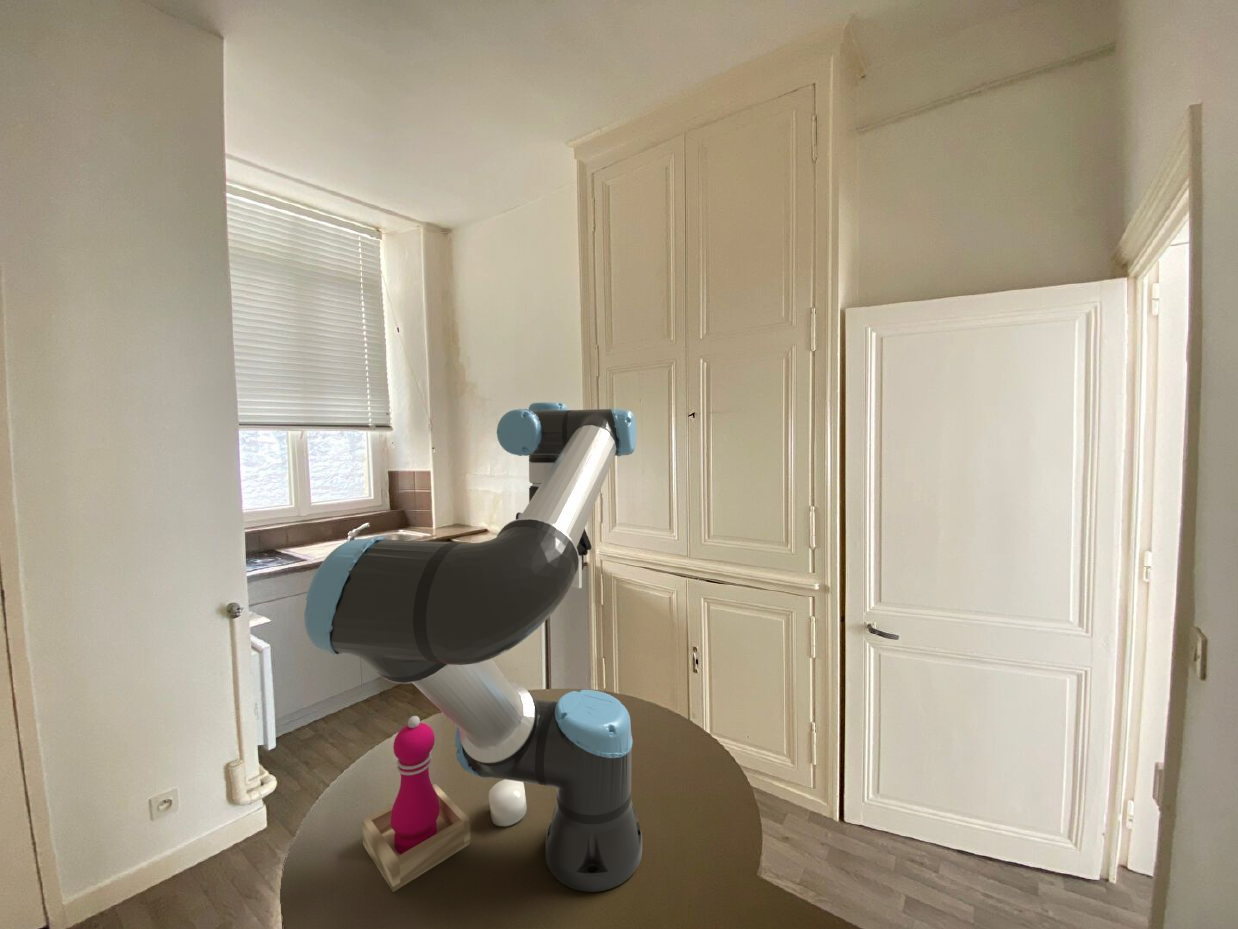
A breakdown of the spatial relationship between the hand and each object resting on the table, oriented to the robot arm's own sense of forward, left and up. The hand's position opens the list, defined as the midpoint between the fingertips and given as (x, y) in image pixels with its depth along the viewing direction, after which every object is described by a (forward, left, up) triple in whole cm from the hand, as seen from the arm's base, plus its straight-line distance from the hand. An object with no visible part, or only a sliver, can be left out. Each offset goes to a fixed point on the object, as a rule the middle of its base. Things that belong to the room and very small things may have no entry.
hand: (549, 594), depth 96 cm
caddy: (+1, +26, -35) cm, 43 cm away
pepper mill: (+1, +26, -34) cm, 43 cm away
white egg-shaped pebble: (-4, +12, -34) cm, 37 cm away
